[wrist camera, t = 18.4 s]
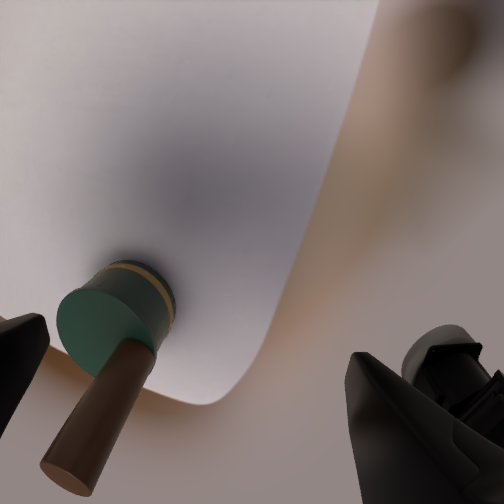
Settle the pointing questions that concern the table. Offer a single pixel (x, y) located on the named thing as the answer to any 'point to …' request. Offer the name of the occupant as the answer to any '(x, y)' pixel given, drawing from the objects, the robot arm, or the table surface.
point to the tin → (140, 293)
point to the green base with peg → (98, 382)
